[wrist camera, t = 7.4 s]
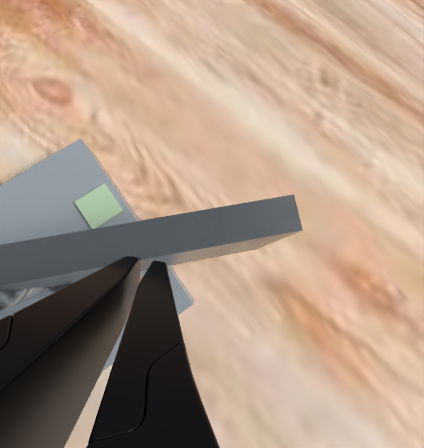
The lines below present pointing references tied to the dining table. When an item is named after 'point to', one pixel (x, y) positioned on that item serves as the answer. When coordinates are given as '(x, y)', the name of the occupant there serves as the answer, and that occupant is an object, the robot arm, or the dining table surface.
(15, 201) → the gray square base
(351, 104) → the dining table surface
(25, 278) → the gray pivoting panel
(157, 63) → the dining table surface
